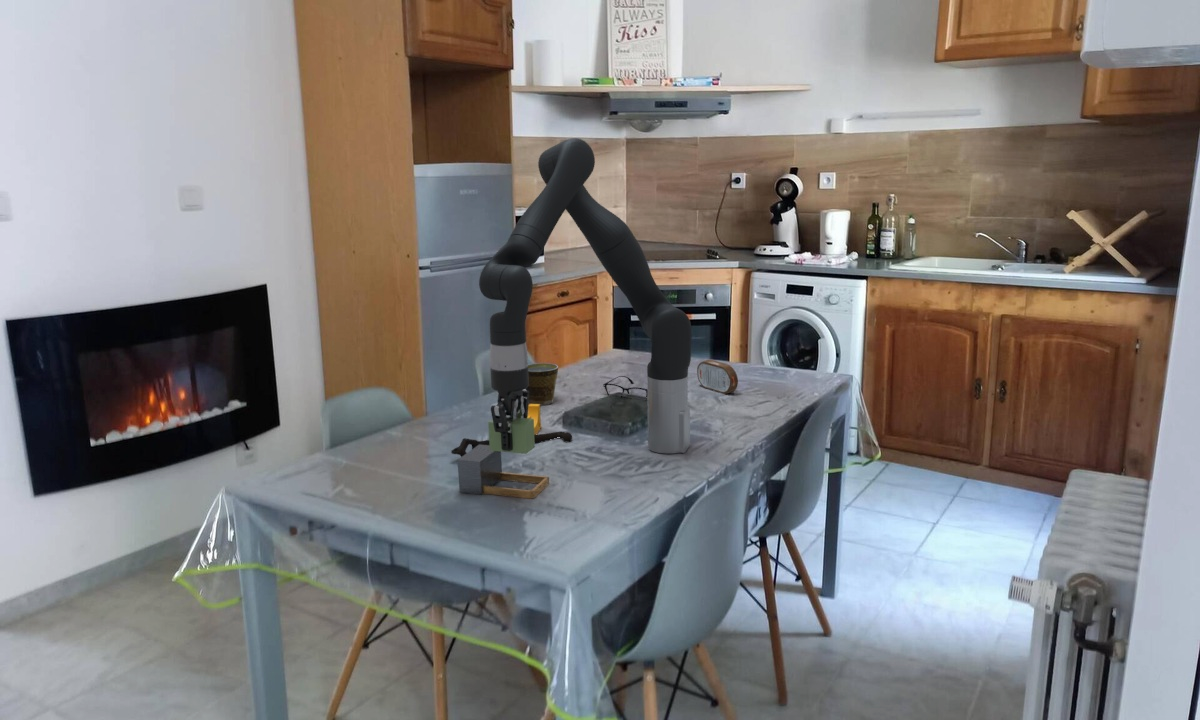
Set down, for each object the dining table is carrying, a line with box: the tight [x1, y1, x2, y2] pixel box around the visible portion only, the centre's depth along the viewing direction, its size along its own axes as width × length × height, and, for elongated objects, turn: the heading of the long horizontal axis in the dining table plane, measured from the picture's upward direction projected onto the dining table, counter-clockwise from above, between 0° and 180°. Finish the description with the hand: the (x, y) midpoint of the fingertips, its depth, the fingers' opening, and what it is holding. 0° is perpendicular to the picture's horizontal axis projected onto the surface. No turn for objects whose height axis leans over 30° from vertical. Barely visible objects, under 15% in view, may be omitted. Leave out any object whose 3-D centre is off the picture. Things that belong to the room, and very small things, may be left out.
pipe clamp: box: [527, 403, 542, 435], centre depth 216 cm, size 12×4×6 cm, turn 172°
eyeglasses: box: [602, 375, 647, 398], centre depth 253 cm, size 16×16×4 cm
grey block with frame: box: [457, 444, 550, 500], centre depth 182 cm, size 16×10×7 cm, turn 72°
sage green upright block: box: [487, 417, 536, 455], centre depth 179 cm, size 8×4×6 cm, turn 71°
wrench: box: [450, 431, 573, 458], centre depth 205 cm, size 5×5×30 cm
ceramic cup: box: [525, 362, 559, 406], centre depth 244 cm, size 13×10×10 cm
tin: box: [696, 358, 739, 395], centre depth 252 cm, size 15×3×8 cm, turn 34°
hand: (512, 445), depth 180 cm, fingers closed on sage green upright block, 4 cm apart
